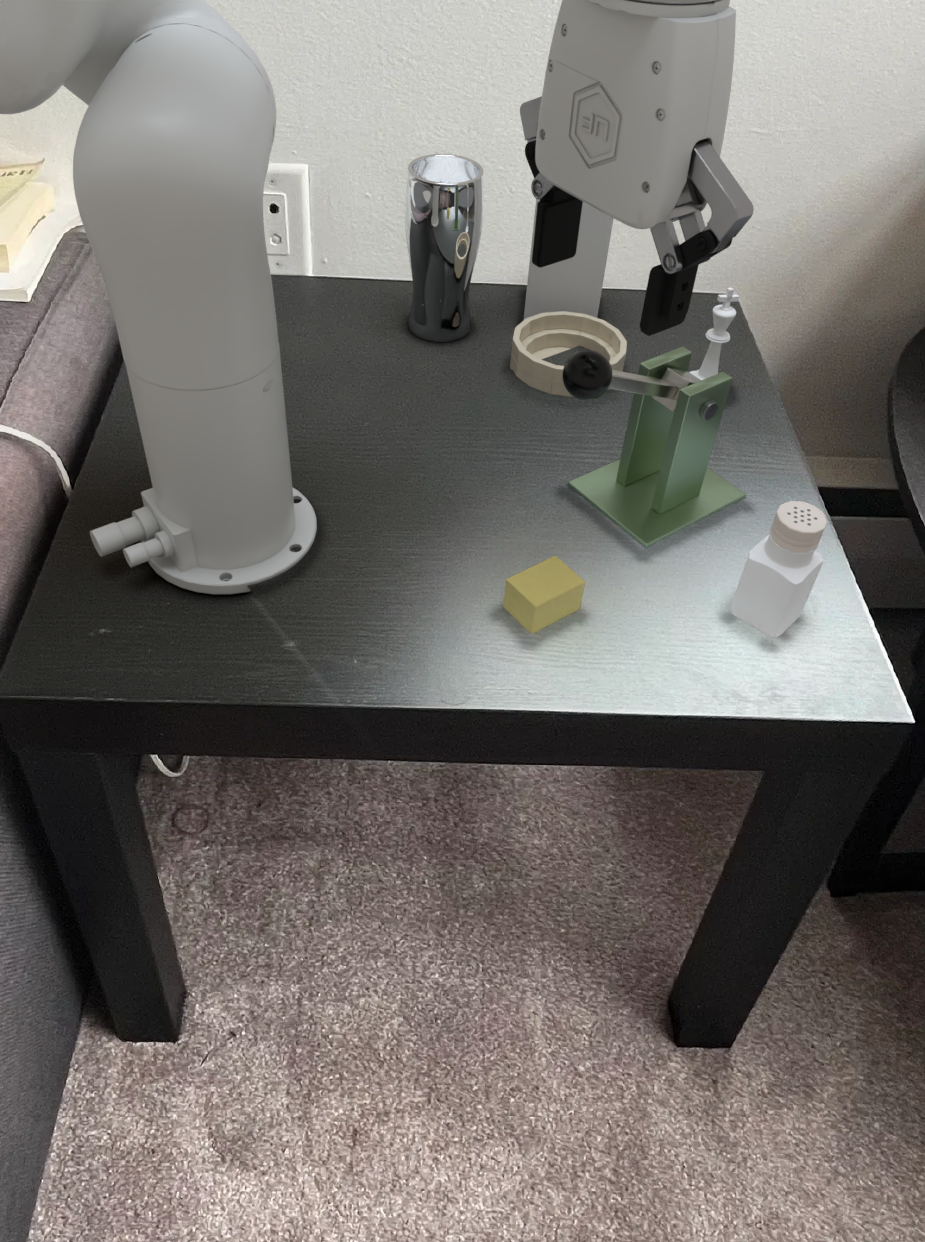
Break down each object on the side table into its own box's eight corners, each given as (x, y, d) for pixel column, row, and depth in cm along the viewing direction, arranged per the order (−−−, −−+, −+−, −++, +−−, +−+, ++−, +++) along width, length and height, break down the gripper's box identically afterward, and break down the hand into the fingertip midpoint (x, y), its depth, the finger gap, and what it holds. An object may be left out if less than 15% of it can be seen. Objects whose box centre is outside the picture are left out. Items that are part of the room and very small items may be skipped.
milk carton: (595, 298, 101) (627, 100, 87) (595, 333, 96) (628, 129, 82) (526, 292, 101) (547, 93, 88) (522, 326, 96) (544, 121, 83)
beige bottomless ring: (558, 417, 86) (563, 382, 83) (488, 364, 91) (490, 329, 89) (643, 383, 90) (650, 349, 88) (570, 334, 96) (575, 301, 93)
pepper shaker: (771, 649, 67) (814, 545, 61) (722, 619, 69) (758, 515, 62) (800, 620, 70) (845, 516, 63) (752, 591, 71) (790, 488, 65)
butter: (530, 643, 67) (535, 606, 64) (501, 615, 68) (505, 578, 66) (578, 617, 69) (585, 581, 66) (549, 590, 70) (555, 554, 68)
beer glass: (401, 308, 97) (402, 152, 87) (471, 308, 98) (480, 153, 87) (406, 345, 93) (408, 184, 82) (479, 344, 93) (490, 185, 83)
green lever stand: (643, 556, 73) (676, 425, 65) (565, 493, 78) (586, 362, 70) (743, 506, 78) (785, 377, 70) (663, 449, 83) (694, 322, 75)
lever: (577, 407, 62) (600, 360, 61) (545, 383, 64) (566, 337, 62) (696, 423, 72) (718, 384, 70) (665, 402, 74) (686, 363, 72)
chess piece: (738, 405, 88) (768, 302, 81) (686, 407, 88) (712, 304, 80) (719, 375, 92) (747, 274, 85) (669, 377, 91) (693, 275, 84)
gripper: (487, -69, 50) (470, 252, 63) (739, 20, 41) (661, 376, 53) (595, -82, 54) (559, 225, 66) (851, -2, 44) (753, 338, 57)
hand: (605, 293), depth 60 cm, fingers open, 9 cm apart
